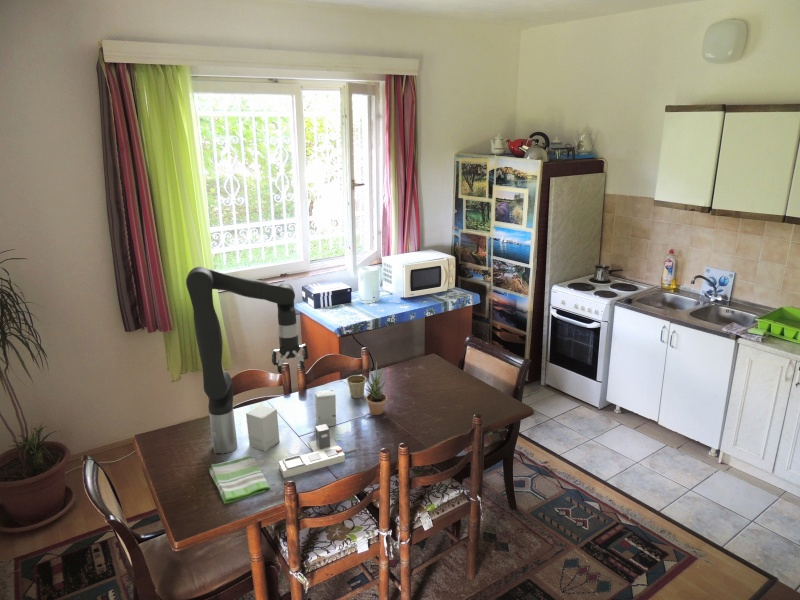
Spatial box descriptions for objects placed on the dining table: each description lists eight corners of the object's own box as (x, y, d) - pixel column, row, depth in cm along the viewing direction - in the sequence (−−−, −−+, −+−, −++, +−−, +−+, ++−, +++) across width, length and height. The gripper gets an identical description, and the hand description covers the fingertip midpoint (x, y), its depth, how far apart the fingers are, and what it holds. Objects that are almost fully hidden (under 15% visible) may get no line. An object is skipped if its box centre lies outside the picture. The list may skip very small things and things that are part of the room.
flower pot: (344, 393, 275) (344, 377, 272) (362, 389, 278) (362, 373, 276) (351, 401, 267) (350, 384, 264) (369, 397, 270) (369, 381, 268)
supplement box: (280, 441, 234) (277, 409, 229) (265, 452, 226) (262, 418, 222) (264, 435, 238) (261, 403, 234) (248, 445, 231) (245, 413, 226)
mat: (315, 455, 223) (315, 454, 223) (308, 443, 232) (308, 442, 232) (339, 449, 227) (339, 447, 227) (331, 437, 236) (331, 436, 236)
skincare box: (318, 428, 243) (316, 397, 239) (315, 421, 249) (313, 391, 244) (337, 425, 246) (335, 394, 241) (334, 418, 251) (333, 388, 247)
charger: (319, 449, 226) (318, 431, 224) (316, 443, 230) (315, 426, 228) (330, 446, 228) (329, 429, 226) (326, 441, 232) (325, 423, 230)
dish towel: (253, 459, 222) (252, 451, 221) (272, 490, 203) (271, 481, 202) (208, 473, 214) (207, 464, 213) (224, 506, 195) (222, 497, 194)
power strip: (284, 477, 209) (283, 469, 208) (279, 468, 215) (278, 459, 214) (359, 457, 222) (358, 448, 220) (352, 448, 228) (352, 440, 227)
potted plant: (390, 414, 254) (389, 364, 247) (370, 418, 251) (368, 367, 244) (382, 404, 263) (381, 355, 256) (363, 408, 260) (361, 359, 252)
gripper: (272, 339, 217) (276, 378, 222) (308, 333, 223) (311, 371, 227) (268, 333, 223) (271, 371, 228) (303, 327, 229) (305, 364, 234)
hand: (291, 371), depth 228 cm, fingers open, 8 cm apart
